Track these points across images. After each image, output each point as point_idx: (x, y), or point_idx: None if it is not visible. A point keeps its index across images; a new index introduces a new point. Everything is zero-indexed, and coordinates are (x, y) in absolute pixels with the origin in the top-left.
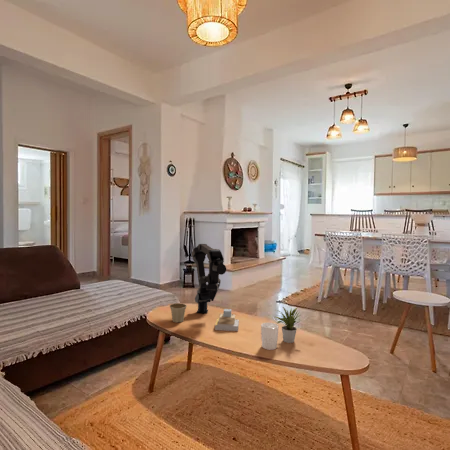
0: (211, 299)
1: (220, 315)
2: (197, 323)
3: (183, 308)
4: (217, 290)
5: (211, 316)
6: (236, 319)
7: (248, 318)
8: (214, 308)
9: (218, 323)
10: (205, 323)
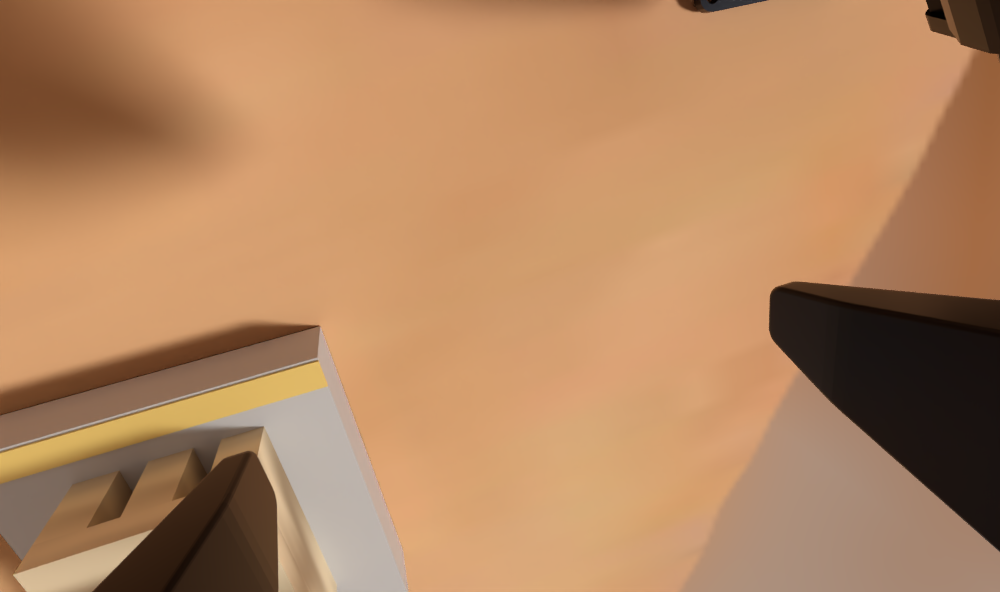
0: (195, 507)
1: (134, 545)
2: (116, 25)
3: None
4: (990, 537)
5: (579, 137)
6: (399, 577)
7: (625, 548)
8: (943, 48)
9: (76, 471)
10: (203, 170)
